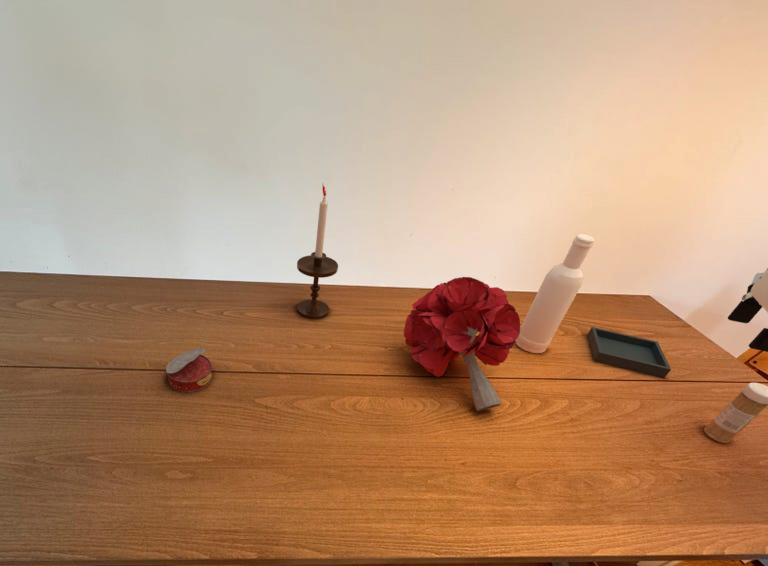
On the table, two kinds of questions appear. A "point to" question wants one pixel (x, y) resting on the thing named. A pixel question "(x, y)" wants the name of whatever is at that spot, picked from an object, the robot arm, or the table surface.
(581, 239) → the bottle
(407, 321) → the bouquet
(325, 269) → the candlestick
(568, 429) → the table surface
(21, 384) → the table surface
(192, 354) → the canned food
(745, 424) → the sprinkles bottle
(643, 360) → the serving tray
